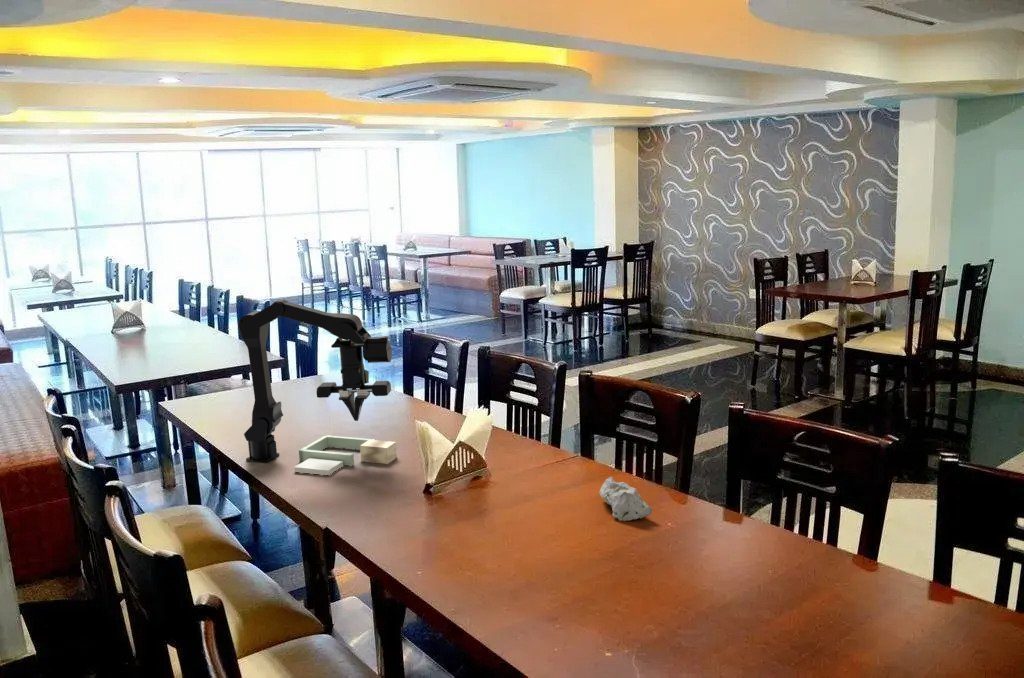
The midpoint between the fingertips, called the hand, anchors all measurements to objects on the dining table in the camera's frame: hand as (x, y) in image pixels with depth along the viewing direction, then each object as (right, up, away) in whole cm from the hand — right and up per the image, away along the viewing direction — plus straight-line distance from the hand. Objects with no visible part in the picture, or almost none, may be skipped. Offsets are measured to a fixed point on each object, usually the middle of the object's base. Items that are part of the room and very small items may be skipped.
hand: (356, 420), depth 217 cm
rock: (+65, -16, -38) cm, 77 cm away
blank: (+6, -11, 0) cm, 12 cm away
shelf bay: (-5, -10, +4) cm, 12 cm away
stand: (-8, -12, -6) cm, 16 cm away
